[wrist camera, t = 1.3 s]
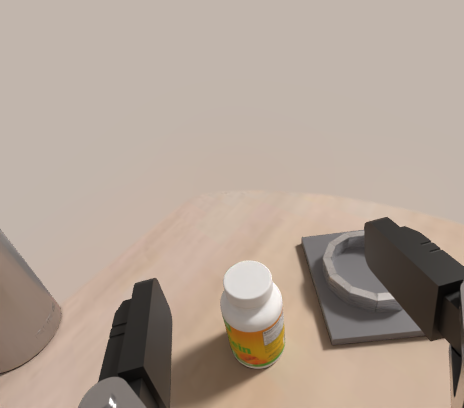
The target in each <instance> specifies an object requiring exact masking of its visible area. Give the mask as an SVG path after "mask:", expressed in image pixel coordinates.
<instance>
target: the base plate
mask: <svg viewBox="0 0 464 408" xmlns="http://www.w3.org/2000/svg"><path fill="white" fill-rule="evenodd" d="M359 231H364V230H359ZM351 232H356V231H351ZM344 233H348V232H343V233H334V234H326V235H318V236H310V237H302V246H303V249H304V253H305V256H306V259H307V263H308V266H309V269H310V273H311V276H312V279H313V283H314V286H315V289H316V293H317V296H318V299H319V303H320V306H321V309H322V313H323V316H324V319H325V323H326V326H327V330H328V333H329V336H330V340H331V343H332V345H338V344H348V343H358V342H368V341H378V340H388V339H398V338H408V337H418V336H426V335H425V334H424V333H423V332H422V330H421V329H420V328H419V327H418V326H417V325H416V323H415V322H414V321H413V320H412V319H411V317H410V316H409V315H408V314H407V313H406V312H405V310H404V309H403V310H401V311H392V312H383V313H372V312H369V311H366V310H363V309H360V308H357V307H353V306H350V305H348V304H346V303H345V302H344V301H343V300H342V299H340V298H339V297H338V296H337V295H336V294H335V293H334V292H332V291H331V290H330V289H329V288H328V285H327V282H326V279H325V276H324V273H323V257H324V254H325V252H326V249H327V247H328V244H329V242H331V241H333V240H334V239H336V238H337V237H339V236H341V235H342V234H344ZM333 265H334V268H335V271H336V273H337V274H338V275H339V276H340V277H342V278H343V279H344V280H345V281H347V282H348V283H349V284H350V285H352V286H353V287H356V288H359V289H363V290H366V291H369V292H373V293H376V294H377V293H386V292H388V290H387V289H386V288H385V287H384V286H383V284H382V283H381V282H380V281H379V280H378V279H377V277H376V276H375V275H374V274H373V273H372V271H371V270H370V269H369V267H368V265H367V263H366V259H365V247H363V248H355V249H347V250H346V251H344V252H343V253H341V254H340V255H338V256H337V257H335V258H334V261H333Z"/></svg>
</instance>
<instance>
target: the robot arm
mask: <svg viewBox="0 0 464 408" xmlns="http://www.w3.org/2000/svg"><path fill="white" fill-rule="evenodd" d="M364 245H365V259H366V263H367V265H368V267H369V269H370V270H371V271H372V273H373V274H374V275H375V276H376V277H377V279H378V280H379V281H380V282H381V283H382V284H383V286H384V287H385V288H386V289H387V290H388V292H389V293H390V294H391V295H392V296H393V297H394V299H395V300H396V301H397V302H398V303H399V304H400V306H401V307H402V308H403V309H404V310H405V312H406V313H407V314H408V315H409V316H410V317H411V319H412V320H413V321H414V322H415V323H416V325H417V326H418V327H419V328H420V329H421V330H422V332H423V333H424V334H425V335H426V336H427V337H428V339H429V340H430V341H434V340H437V339H441V338H445V339H446V340H447V341H448V342H449V343H450V346H449V367H450V391H451V408H464V266H463V265H461V264H460V263H459V262H457V261H456V260H455V259H454V258H452V257H451V256H450V255H448V254H447V253H446V252H445V251H443V250H440V248H439V247H438V246H437V245H436V244H434V243H431V241H430V240H429V239H428V238H427V237H425V236H424V235H423V234H421V233H420V232H418V231H415V230H413V229H410V228H408V227H405V226H404V227H399V226H398V225H397V224H396V223H394V222H393V221H392V220H391V219H389V218H388V217H384V218H381V219H377V220H373V221H369V222H366V223H365V226H364ZM61 314H62V313H61V308H60V306H59V305H58V303H57V302H56V301H55V299H54V298H53V297H52V295H51V294H50V293H49V292H48V290H47V289H46V288H45V286H44V285H43V284H42V282H41V281H40V280H39V278H38V277H37V276H36V275H35V273H34V272H33V271H32V269H31V268H30V267H29V266H28V264H27V263H26V262H25V260H24V259H23V258H22V256H21V255H20V254H19V253H18V252H17V250H16V249H15V248H14V246H13V245H12V244H11V242H10V241H9V240H8V239H7V237H6V236H5V235H4V233H3V232H2V231H1V229H0V373H2V372H6V371H9V370H12V369H14V368H16V367H18V366H20V365H22V364H24V363H25V362H27V361H28V360H30V359H31V358H33V357H34V356H35V355H36V354H38V353H39V352H40V351H41V350H42V349H43V348H44V347H45V346H46V345H47V344H48V343H49V341H50V340H51V339H52V337H53V336H54V334H55V333H56V331H57V329H58V327H59V324H60V321H61ZM109 337H110V339H109V340H108V344H107V348H106V352H105V356H104V360H103V364H102V369H101V373H100V377H99V381H98V383H97V384H95V385H94V386H93V387H92V388H91V389H90V390H89V391H88V392H87V393H86V394H85V396H84V397H83V398H82V400H81V402H80V404H79V406H78V408H170V385H171V351H172V316H171V311H170V308H169V305H168V303H167V301H166V298H165V296H164V294H163V291H162V289H161V287H160V284H159V282H158V280H157V279H156V278H153V279H149V280H145V281H141V282H138V283H135V285H134V288H133V293H132V299H129V300H125V301H123V302H122V304H121V305H120V307H119V308H118V310H117V311H116V313H115V316H114V320H113V324H112V329H111V332H110V336H109Z"/></svg>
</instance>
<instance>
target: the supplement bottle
mask: <svg viewBox="0 0 464 408" xmlns="http://www.w3.org/2000/svg"><path fill="white" fill-rule="evenodd" d="M223 285H224V291H223V293H222V296H221V302H220V306H221V312H222V316H223V319H224V323H225V326H226V330H227V334H228V338H229V342H230V346H231V349H232V352H233V354H234V356H235V357H236V359H237V360H238V361H239V362H240V363H242V364H243V365H245V366H247V367H250V368H254V369H261V368H266V367H268V366H271V365H272V364H274V363H275V362H276V361H277V360H278V359H279V358H280V357H281V355H282V353H283V350H284V347H285V330H284V316H283V302H282V296H281V293H280V291H279V289H278V287H277V286H276V285H275V284H274V283H273V282H272V276H271V273H270V271H269V269H268V268H267V267H266V266H265V265H263V264H261V263H259V262H256V261H242V262H239V263H237V264H235V265H233V266H232V267H230V268H229V269H228V270H227V272H226V273H225V276H224V279H223Z"/></svg>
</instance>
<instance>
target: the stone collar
mask: <svg viewBox="0 0 464 408" xmlns="http://www.w3.org/2000/svg"><path fill="white" fill-rule="evenodd" d="M363 247H365V245H364V231H356V232H348V233H344V234H342V235H341V236H339V237H337V238H336V239H334V240H333V241H331V242H329V244H328V247H327V249H326V252H325V254H324V257H323V273H324V276H325V279H326V282H327V285H328V288H329V289H330V290H331V291H332V292H334V293H335V294H336V295H337V296H338V297H339V298H340V299H342V300H343V301H344V302H345V303H346V304H348V305H350V306H353V307H357V308H360V309H363V310H366V311H369V312H372V313H383V312H392V311H401V310H403V308H402V307H401V306H400V304H399V303H398V302H397V301H396V300H395V299H394V297H393V296H392V295H391V294H390V293H389V292H386V293H377V294H376V293H373V292H369V291H366V290H363V289H359V288H356V287H353V286H352V285H350V284H349V283H348V282H347V281H345V280H344V279H343V278H342V277H340V276H339V275H338V274H337V273H336V271H335V268H334V265H333V261H334V258H335V257H337V256H338V255H340V254H341V253H343V252H344V251H346V250H347V249H355V248H363Z"/></svg>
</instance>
